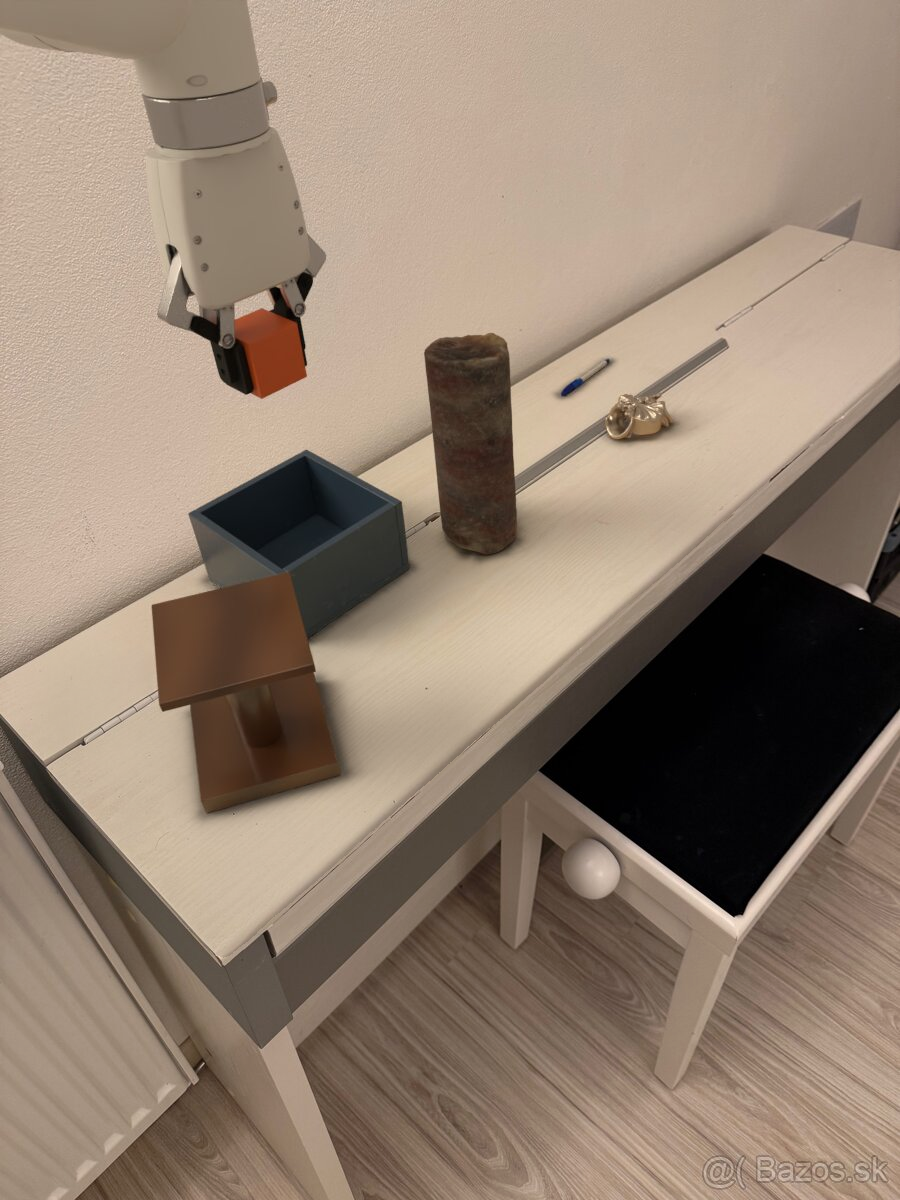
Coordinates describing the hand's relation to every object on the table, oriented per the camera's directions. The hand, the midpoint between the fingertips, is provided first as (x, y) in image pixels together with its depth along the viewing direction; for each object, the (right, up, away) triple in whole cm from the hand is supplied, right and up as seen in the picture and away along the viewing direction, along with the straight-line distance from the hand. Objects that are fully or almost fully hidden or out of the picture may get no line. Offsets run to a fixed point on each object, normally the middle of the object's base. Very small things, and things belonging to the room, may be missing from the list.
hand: (266, 373), depth 68 cm
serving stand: (0, -29, -1) cm, 29 cm away
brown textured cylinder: (+17, -11, +17) cm, 27 cm away
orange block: (0, 0, 0) cm, 1 cm away
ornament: (+36, +2, +30) cm, 47 cm away
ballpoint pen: (+31, +9, +39) cm, 51 cm away
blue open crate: (+1, -15, +14) cm, 21 cm away
